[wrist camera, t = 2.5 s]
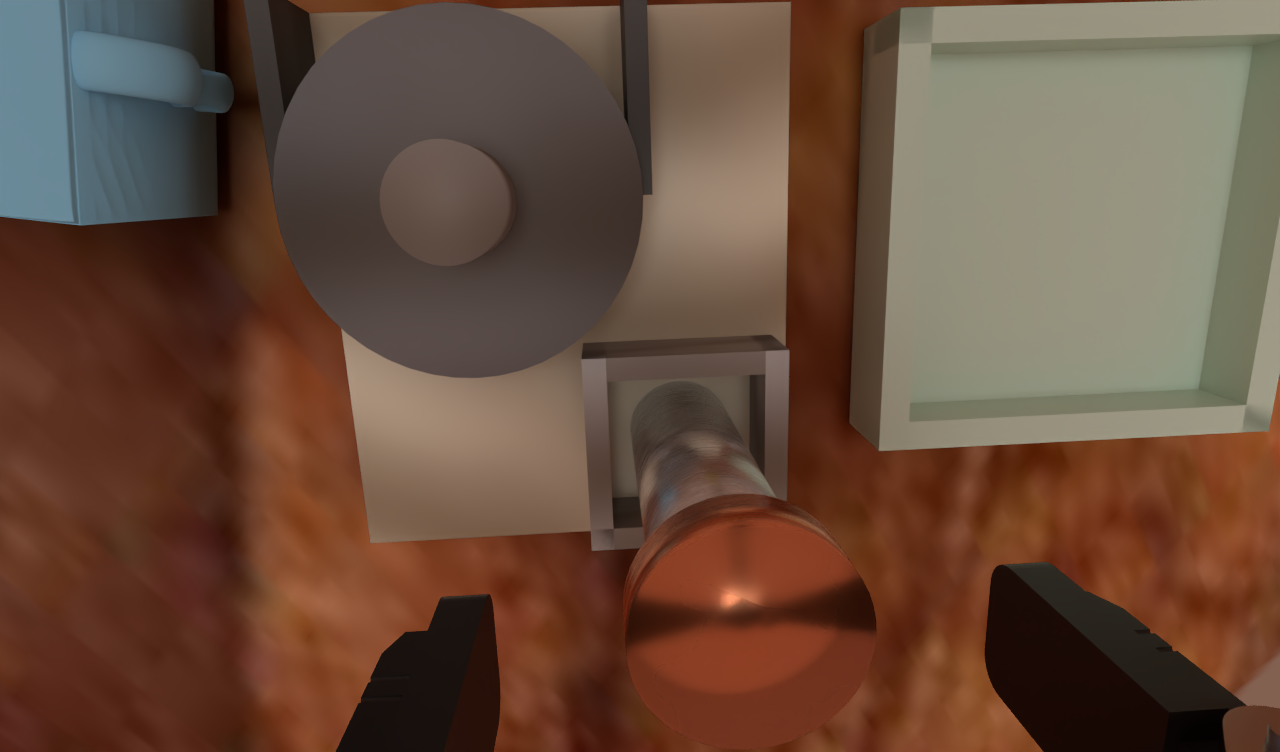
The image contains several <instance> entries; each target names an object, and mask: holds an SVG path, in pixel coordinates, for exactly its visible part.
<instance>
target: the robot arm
mask: <svg viewBox="0 0 1280 752" xmlns="http://www.w3.org/2000/svg"><path fill="white" fill-rule="evenodd" d="M985 662H986V668H987V672H988V675H989V678H990V681H991V683H992V686H993V688H994V689H995V691H996V693H997V694H998V695H999V697H1000V698H1001V699H1002V700H1003V702H1004V703H1005V704H1006V705H1007V707H1008V708H1009V709H1010V710H1011V712H1012V713H1013V714H1014V715H1015V717H1016V718H1017V719H1018V720H1019V722H1020V723H1021V724H1022V725H1023V727H1024V728H1025V729H1026V730H1027V732H1028V733H1029V734H1030V735H1031V737H1032V738H1033V739H1034V740H1035V742H1036V743H1037V744H1038V745H1039V747H1040V748H1041V749H1042V750H1043V751H1044V752H1280V709H1279V708H1274V707H1267V706H1255V705H1253V706H1247V705H1245V704H1244V703H1243V702H1242V701H1240V700H1239V699H1238V698H1237V697H1235V696H1234V695H1233V694H1232V693H1230V692H1229V691H1228V690H1226V689H1225V688H1224V687H1223V686H1221V685H1220V684H1219V683H1217V682H1216V681H1215V680H1214V679H1212V678H1211V677H1210V676H1209V675H1207V674H1206V673H1205V672H1203V671H1202V670H1201V669H1200V668H1198V667H1197V666H1196V665H1195V664H1193V663H1192V662H1191V661H1189V660H1188V659H1187V658H1186V657H1184V656H1183V655H1182V654H1181V653H1179V652H1178V651H1173V650H1172V646H1170V645H1169V644H1168V643H1167V642H1165V641H1164V640H1163V639H1161V638H1160V637H1159V636H1158V635H1156V634H1155V633H1154V634H1151V633H1150V629H1149V628H1147V627H1146V626H1145V625H1144V624H1142V623H1141V622H1140V621H1139V620H1137V619H1136V618H1135V617H1133V616H1132V615H1131V614H1130V613H1128V612H1127V611H1126V610H1125V609H1123V608H1121V607H1119V606H1117V605H1115V604H1113V603H1111V602H1109V601H1107V600H1104V599H1102V598H1100V597H1098V596H1096V595H1094V594H1092V593H1090V592H1088V591H1087V592H1086V591H1084V590H1083V589H1082V588H1081V587H1079V586H1078V585H1077V584H1076V583H1074V582H1073V581H1072V580H1071V579H1069V578H1068V577H1067V576H1066V575H1065V574H1063V573H1062V572H1061V571H1060V570H1058V569H1057V568H1056V567H1055V566H1053V565H1052V564H1050V563H1047V562H1040V563H1023V564H1006V565H999V566H997V567H996V568H995V569H994V571H993V573H992V577H991V585H990V596H989V608H988V619H987V631H986V642H985ZM499 715H500V678H499V667H498V656H497V645H496V634H495V623H494V612H493V604H492V599H491V596H490V595H489V594H483V595H466V596H449V597H442V598H441V599H440V601H439V603H438V606H437V608H436V611H435V613H434V616H433V618H432V621H431V623H430V626H429V629H428V631H416V632H405V633H404V634H403V635H402V636H401V637H400V638H399V639H397V640H396V641H395V642H394V643H393V644H392V645H391V646H390V647H389V648H388V649H386V650H385V651H384V652H383V653H382V655H381V657H380V659H379V661H378V663H377V665H376V667H375V669H374V672H373V674H372V676H371V681H370V683H368V684H367V686H366V689H365V691H364V693H363V695H362V697H361V703H358V706H357V708H356V710H355V712H354V714H353V716H352V718H351V720H350V723H349V725H348V727H347V729H346V731H345V733H344V735H343V737H342V740H341V742H340V744H339V746H338V748H337V750H336V752H494V746H495V741H496V736H497V730H498V725H499Z"/></svg>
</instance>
